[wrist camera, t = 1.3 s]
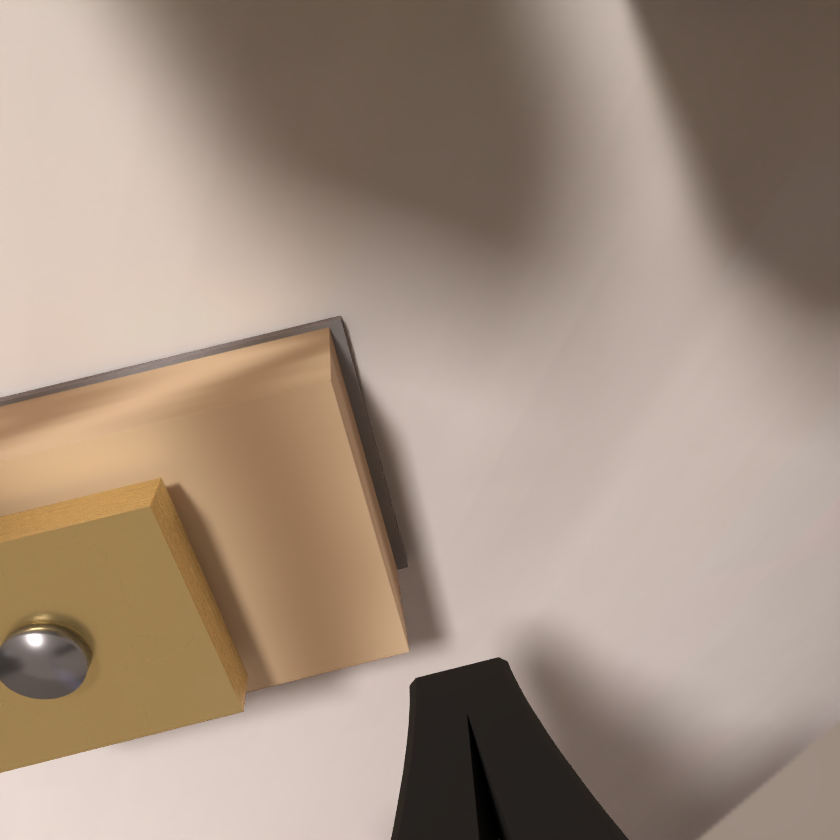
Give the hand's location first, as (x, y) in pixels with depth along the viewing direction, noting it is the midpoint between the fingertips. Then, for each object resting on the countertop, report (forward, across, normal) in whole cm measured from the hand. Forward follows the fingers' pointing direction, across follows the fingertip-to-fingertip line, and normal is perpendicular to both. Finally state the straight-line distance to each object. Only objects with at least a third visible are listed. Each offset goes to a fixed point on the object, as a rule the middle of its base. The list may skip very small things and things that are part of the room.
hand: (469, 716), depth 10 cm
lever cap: (+5, +8, 0) cm, 9 cm away
